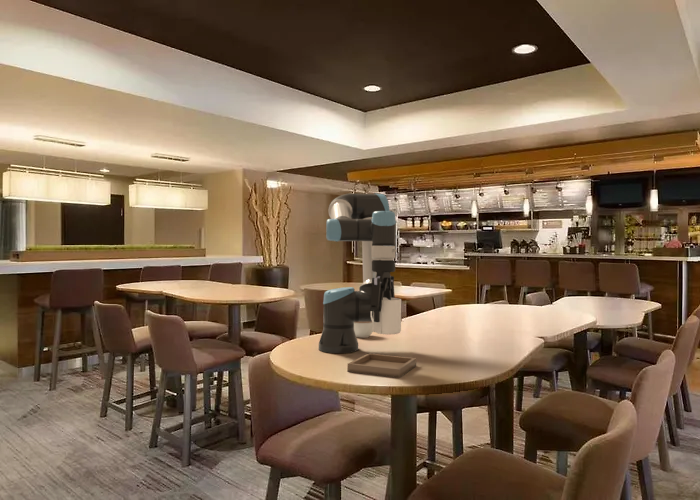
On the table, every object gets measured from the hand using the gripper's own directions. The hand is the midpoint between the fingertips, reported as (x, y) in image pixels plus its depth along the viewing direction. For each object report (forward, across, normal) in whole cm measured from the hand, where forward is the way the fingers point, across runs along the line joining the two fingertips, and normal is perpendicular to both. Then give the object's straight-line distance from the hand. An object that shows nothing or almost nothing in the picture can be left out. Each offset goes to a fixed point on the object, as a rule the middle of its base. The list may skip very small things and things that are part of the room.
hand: (383, 330), depth 160 cm
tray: (+12, 0, 0) cm, 12 cm away
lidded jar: (+13, +51, +29) cm, 60 cm away
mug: (+1, +1, 0) cm, 1 cm away
